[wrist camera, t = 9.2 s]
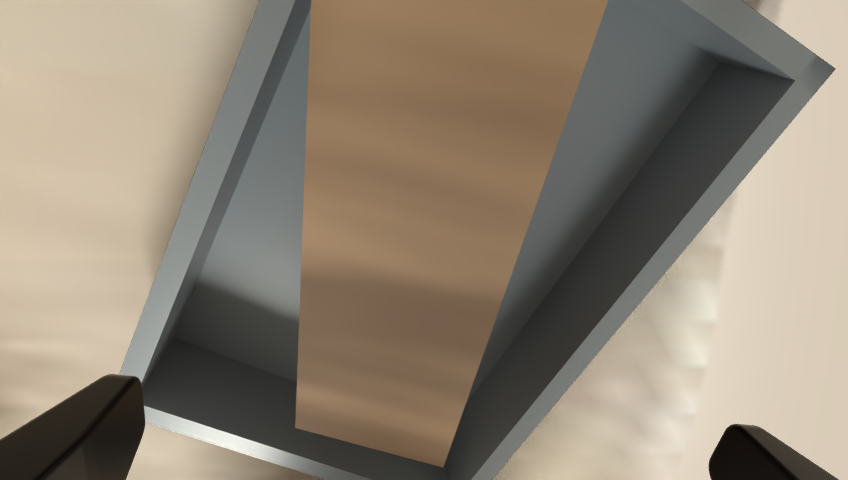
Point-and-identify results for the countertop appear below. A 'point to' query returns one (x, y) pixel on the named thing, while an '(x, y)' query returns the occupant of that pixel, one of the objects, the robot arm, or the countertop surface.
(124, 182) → the countertop surface
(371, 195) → the brown block
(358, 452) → the tray
